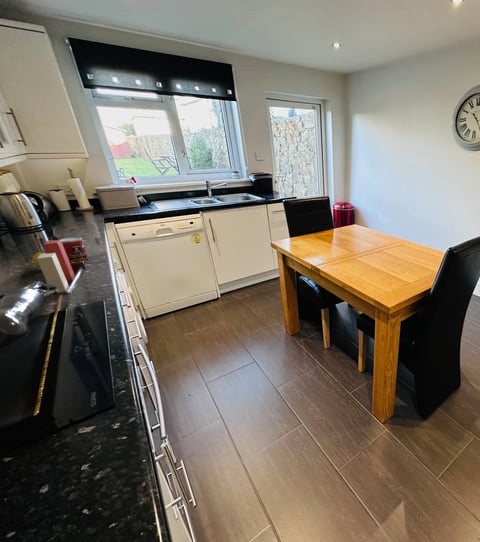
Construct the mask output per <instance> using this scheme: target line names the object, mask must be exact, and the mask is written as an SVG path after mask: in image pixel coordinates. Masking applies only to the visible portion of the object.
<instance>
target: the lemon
mask: <svg viewBox="0 0 480 542" xmlns="http://www.w3.org/2000/svg"><path fill="white" fill-rule="evenodd" d="M41 254H45V253H44V252H37V253H35V254H34V255H33V256H32V264H33V265H34V266H35V267H36V268H39V269H41V268H40V265H39V263H38V261H37V258H38V257H39V256H40V255H41Z"/></svg>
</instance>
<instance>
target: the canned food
mask: <svg viewBox="0 0 480 542" xmlns="http://www.w3.org/2000/svg"><path fill="white" fill-rule="evenodd" d="M60 240H61V242H62V244H63V247H64V250H65V252H66V255H67V257H68V260H69V262H80V261H84V260H87V259H88V258H89V254H88V251H87V249H86V246H85V244H84V240H83V238H82V237H80V236H71V237H70V236H69V237H65V238H61V239H60ZM88 260H89V259H88ZM88 260H87V261H88ZM84 262H85V261H84Z"/></svg>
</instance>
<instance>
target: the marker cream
mask: <svg viewBox="0 0 480 542" xmlns="http://www.w3.org/2000/svg"><path fill="white" fill-rule="evenodd" d="M37 261H38V263H39V265H40V268H39V269H40V270H41V272H42V274H43V276H44V279H45V281H46V284H49V285H54V286H56V287H57V289H58V291H59V293H61V292H62V293H63V292H64V293H65V292H66V291H67V289H68V288H69V286H70V284H69V282H68V283H67V280H66V278H65V276H64V273H63V271H62V268H61V266H60V263H59V261H58V259H57V256H56V254H55V253H49V254H48V253H44V254H41V255H40V256H39V257H38V258H37ZM62 293H61V294H62Z"/></svg>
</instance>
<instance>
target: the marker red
mask: <svg viewBox="0 0 480 542" xmlns="http://www.w3.org/2000/svg"><path fill="white" fill-rule="evenodd" d="M43 246H44V249H45V251H46V254H49V253H55V254H56V256H57V259H58V261H59V263H60V266H61V268H62V271H63V273H64V276H65V278H66V280H67V281H73V279H74V277H75V275H74V272H73V270H72V267H71V265H70V262H69V260H68V257H67V255H66V252H65V250H64V247H63V244H62V242H61V239H54V240H47V241H46V242H45V243H43Z"/></svg>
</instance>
